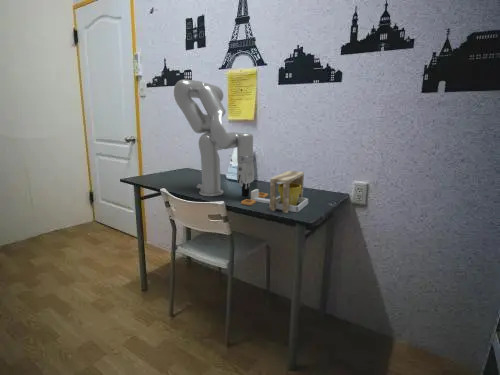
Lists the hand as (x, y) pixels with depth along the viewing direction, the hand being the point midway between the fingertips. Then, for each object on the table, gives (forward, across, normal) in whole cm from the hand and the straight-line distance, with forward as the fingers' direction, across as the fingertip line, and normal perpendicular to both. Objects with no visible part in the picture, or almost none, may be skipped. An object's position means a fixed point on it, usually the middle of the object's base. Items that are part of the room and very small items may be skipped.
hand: (245, 196), depth 148 cm
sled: (+2, 0, -17) cm, 17 cm away
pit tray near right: (+1, -7, -6) cm, 9 cm away
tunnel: (+2, 0, -22) cm, 22 cm away
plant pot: (+2, 0, -23) cm, 23 cm away
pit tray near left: (+1, +7, -6) cm, 9 cm away
